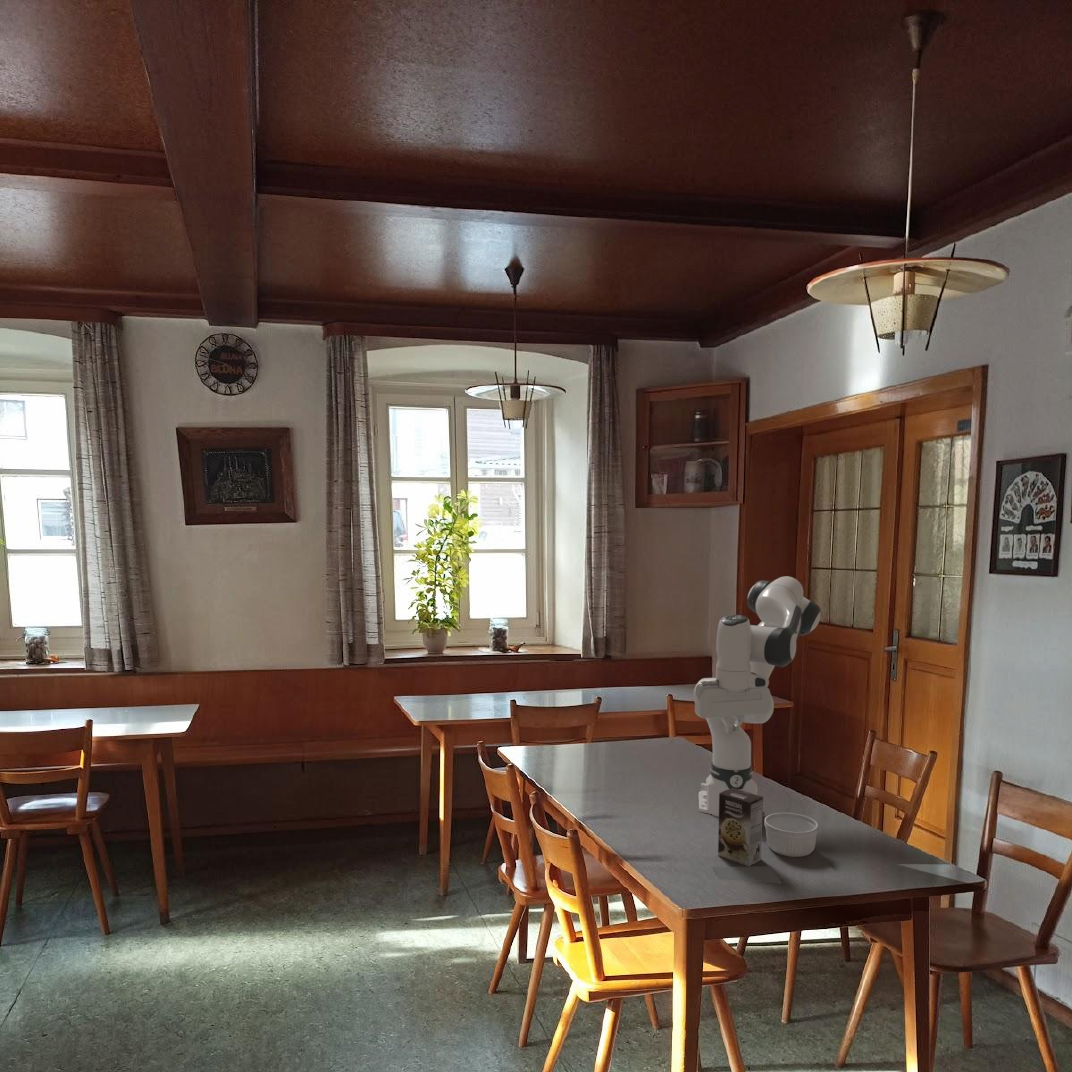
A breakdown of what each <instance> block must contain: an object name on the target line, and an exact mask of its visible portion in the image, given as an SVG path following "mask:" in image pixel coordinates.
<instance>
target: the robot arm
mask: <svg viewBox="0 0 1072 1072" xmlns="http://www.w3.org/2000/svg"><path fill="white" fill-rule="evenodd" d="M803 587H804V586H803V585H802V584H801V582H800V580H798V579H796V578H794V577H792V576H788V575H786V576H780V577H778V578H776V579H774V580H773V581H770V580H764V579H763V580H758V581H757V582H756V583H755V584H754V585H753V586H752V587H751V588H750V589H749V592H748V594H747V600H746V605H747V607H748V609H750V610H751V611H752V612H754V613H755V614H756V615H757V617H758V618H759V619H760V622H759V624H757V625H754V624H751V623H750V619H749V618H748V617H747V616H745V615H741V614H731V615H725V616H723V617H722V618H720V619H719V622H718V626H717V632H716V641H715V642H716V646H715V648H716V649H715V651H716V656H717V660H716V664H715V677H703V678H701V679H700V680H699V681H698V682H697V683H696V684H695V686H694V689H693V693H692V695H693V702H694V704H695V705H694V713H695V714H696V715H697V716H698V717H699V718H701V719H705V720H706V723H707V725H708V727H709V730H710V731H709V732H710V735H711V741H712V745H711V746H712V762H711V763H710V767H709V768H710V769H709V770H710V774H709V775H708V776H707V778H706V779H705V782H701V783H700V791H698V811H699V812H700V813H705V814H708V815H711V814H712V815H711V816H714V817H717V818H719V793H721V792H723V791H725V790H729V789H731V788H735V789H738V790H742V791H745V792H748V793H752V794H755V795H758V786H757V783H756V782H755V781H754V780H753V779H752V778H753V766H752V761H751V760H752V759H751V758H752V757H751V756H752V742H751V739H750V735H748V733H746V732H745V730H744V729H742V727H741V726H742V724H743V723H745V724H764V723H766V722H768V721H769V720H770V718H771V717H772V715H773V713H774V708H775V702H774V699H773V698H774V697H773V696H772V694H771V691H770V688H768V686H769V684H770V680H769V679H770V676H771V674H772V673H773V670H774V669H775V667H780V668H784V667H787V666H788V665H789V664H790V663H792V662H793V661H794V659H795V656H796V652H797V643H798V640H799V637H800V636H801V637H802V636H806V635H809V634H810V633H811V632H812V631H814V630H815V629H816V628H817V626H818V624H819V623H820V619H821V612H822V611H821V607H820V606H819V605H818V604H817V603H816V602H814V601H813V600H810V599H808V598H806V597H805V596H804V588H803Z"/></svg>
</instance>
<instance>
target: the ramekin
mask: <svg viewBox="0 0 1072 1072" xmlns="http://www.w3.org/2000/svg"><path fill="white" fill-rule="evenodd" d="M763 824H764V827H765V836H766V837H765V838H766V843H767V845H768V847H769V848H770V849H771V850H772V851H773V852H775V853H777V854H778V855H781V856H786V857H791V858H794V857H795V858H797V857H800V858H802V857H806V856H808V855H811V854H812V852H814V850H815V847H816V843H817V834H818V831H819V825H818V824H819V823H818V822H817V821H816V820H815V819H814V818H811V817H809V816H807V815H805V814H799V813H795V812H776V813H775V812H774V813H770V814H769V815H767V816H766V817H764V823H763Z"/></svg>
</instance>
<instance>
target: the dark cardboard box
mask: <svg viewBox="0 0 1072 1072" xmlns="http://www.w3.org/2000/svg"><path fill="white" fill-rule="evenodd" d="M763 811H764V796H761V795H758V794H757V795H755V794H752V793H748V792H745V791H742V790H738V789H735V788H731V789H729V790H725V791H723V792H721V793H719V817H718V841H717V843H718V846H717V856H719V857H722V858H724V859H726V860H728V861H731V862H735V863H738V864H740V865H742V866H744V867H752V865H754V864H756V863H758V862H760V861H761V860H762V845H763V844H762V843H763V842H762V841H763V814H764V813H763Z"/></svg>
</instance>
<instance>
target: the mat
mask: <svg viewBox="0 0 1072 1072" xmlns="http://www.w3.org/2000/svg"><path fill="white" fill-rule="evenodd" d="M712 869H713V872H714V873H715V875H716V876H717V877H718V880H724V881H725V880H726V881H736V880H737V881H739V880H740V881H739V882H750V881H751V882H755V883H766V884H768V883H769V884H780V885H782V884H783V883H782V882H781V880H780V878H779V877H778V875H777V874H776V872H775V871H774V869H773V868H772V866H749V867H748V866H713V867H712ZM741 880H742V881H741ZM743 880H744V881H743Z"/></svg>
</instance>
